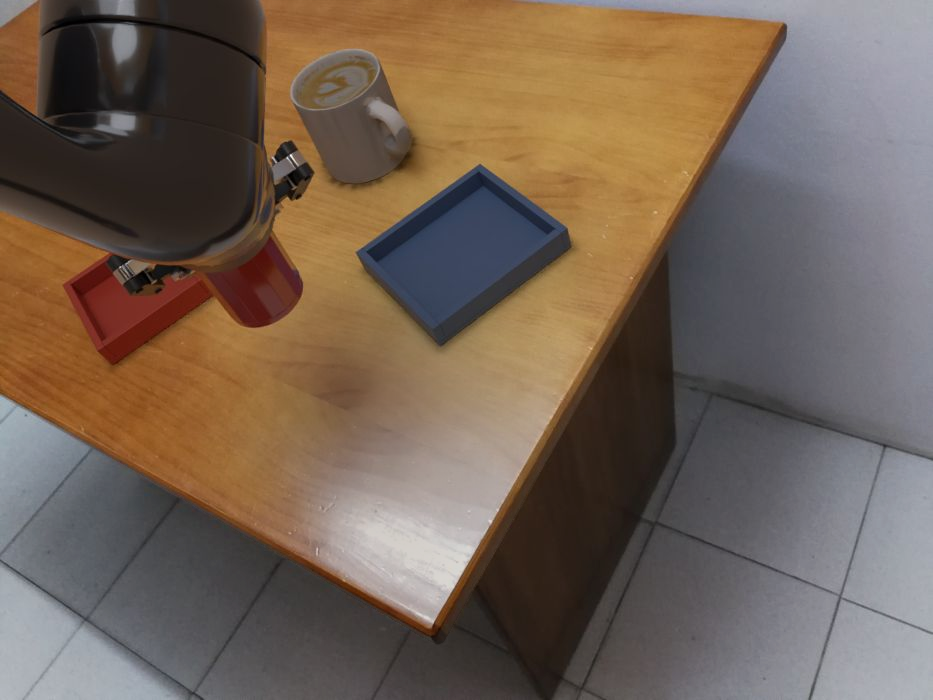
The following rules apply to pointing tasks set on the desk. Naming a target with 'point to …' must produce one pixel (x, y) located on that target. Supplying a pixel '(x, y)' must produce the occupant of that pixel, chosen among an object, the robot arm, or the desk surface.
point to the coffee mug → (351, 115)
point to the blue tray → (463, 252)
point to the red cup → (258, 287)
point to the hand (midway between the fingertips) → (223, 237)
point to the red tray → (128, 308)
